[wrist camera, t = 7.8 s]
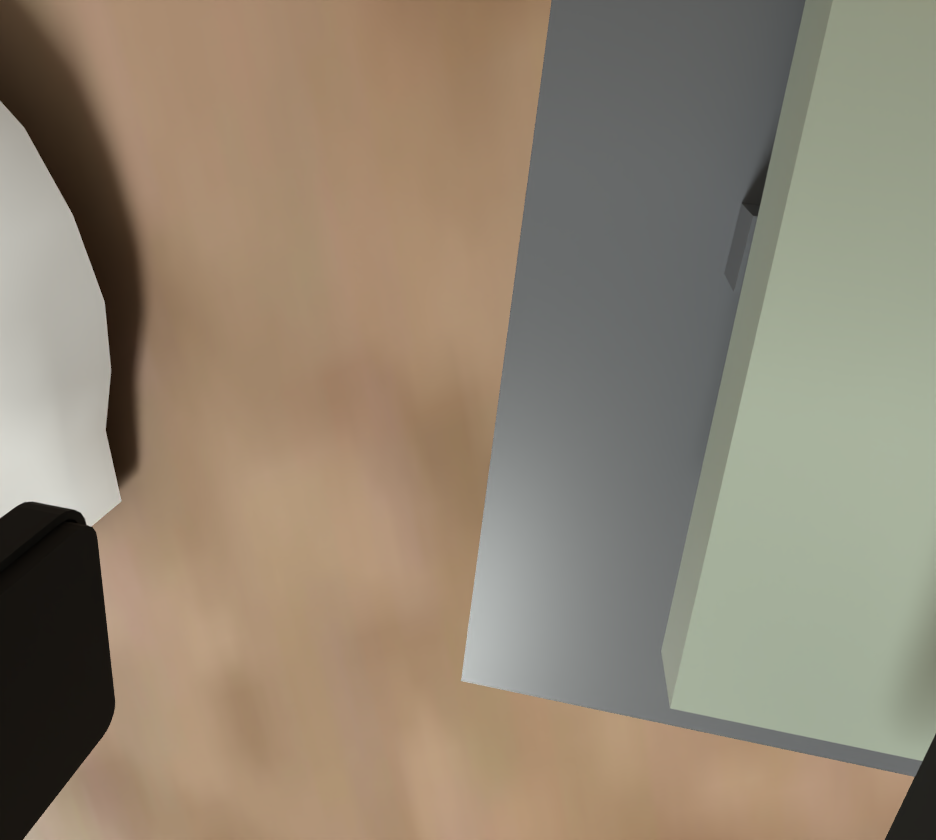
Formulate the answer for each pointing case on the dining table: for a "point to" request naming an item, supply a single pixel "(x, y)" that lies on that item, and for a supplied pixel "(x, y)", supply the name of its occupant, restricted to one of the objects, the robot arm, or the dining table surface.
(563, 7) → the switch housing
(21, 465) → the figurine
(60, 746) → the robot arm
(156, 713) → the dining table surface
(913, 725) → the sage rocker
